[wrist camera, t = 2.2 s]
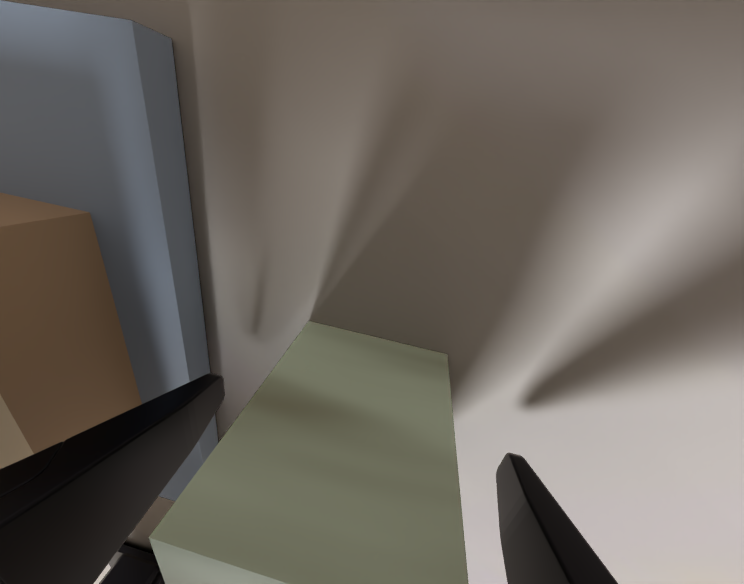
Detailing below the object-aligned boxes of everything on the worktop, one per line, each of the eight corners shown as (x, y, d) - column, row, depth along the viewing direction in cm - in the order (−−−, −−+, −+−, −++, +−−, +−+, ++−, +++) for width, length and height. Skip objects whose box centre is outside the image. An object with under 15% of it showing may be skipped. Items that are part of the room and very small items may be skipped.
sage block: (414, 447, 11) (400, 724, 6) (302, 416, 11) (188, 647, 6) (447, 353, 9) (474, 645, 4) (309, 320, 9) (149, 537, 4)
